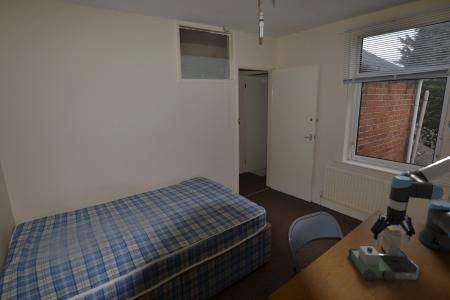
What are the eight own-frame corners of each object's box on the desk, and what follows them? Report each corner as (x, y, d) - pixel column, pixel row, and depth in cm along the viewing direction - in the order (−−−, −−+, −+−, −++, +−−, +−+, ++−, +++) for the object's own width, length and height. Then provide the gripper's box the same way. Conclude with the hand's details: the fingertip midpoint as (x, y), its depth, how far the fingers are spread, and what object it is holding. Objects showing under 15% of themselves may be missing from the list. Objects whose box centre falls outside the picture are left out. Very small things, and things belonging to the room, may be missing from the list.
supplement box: (398, 257, 113) (403, 233, 110) (387, 256, 114) (391, 232, 111) (390, 246, 121) (394, 224, 118) (380, 245, 122) (384, 223, 119)
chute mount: (397, 258, 112) (399, 248, 111) (417, 279, 99) (419, 268, 98) (373, 258, 113) (375, 247, 111) (390, 278, 100) (392, 267, 99)
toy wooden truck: (373, 255, 114) (376, 238, 112) (394, 281, 99) (398, 261, 96) (347, 255, 115) (350, 237, 113) (364, 280, 100) (367, 260, 97)
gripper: (418, 204, 114) (410, 241, 119) (366, 203, 116) (360, 239, 121) (430, 211, 107) (421, 251, 112) (374, 210, 109) (368, 249, 114)
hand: (389, 245), depth 117 cm, fingers open, 13 cm apart
